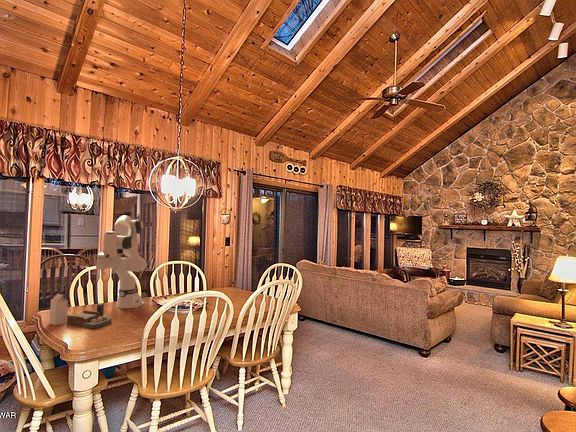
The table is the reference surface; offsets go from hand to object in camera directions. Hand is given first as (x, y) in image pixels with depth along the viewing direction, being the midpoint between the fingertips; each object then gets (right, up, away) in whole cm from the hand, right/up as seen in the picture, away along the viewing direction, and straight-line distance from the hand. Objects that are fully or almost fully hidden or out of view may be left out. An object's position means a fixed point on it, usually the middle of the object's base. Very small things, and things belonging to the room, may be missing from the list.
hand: (108, 274), depth 240 cm
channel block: (-11, -31, -12) cm, 35 cm away
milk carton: (-26, -30, -15) cm, 42 cm away
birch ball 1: (0, -28, -18) cm, 34 cm away
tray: (0, -31, -15) cm, 34 cm away
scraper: (-6, -31, 0) cm, 32 cm away
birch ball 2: (+1, -28, -12) cm, 31 cm away
